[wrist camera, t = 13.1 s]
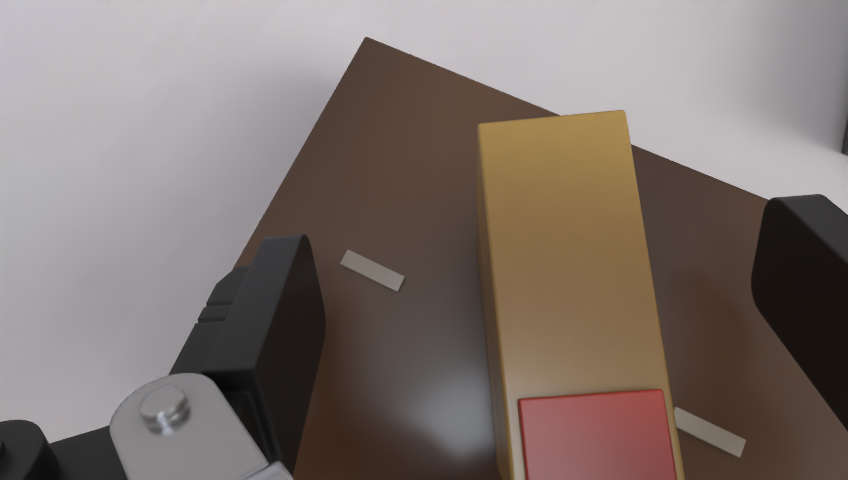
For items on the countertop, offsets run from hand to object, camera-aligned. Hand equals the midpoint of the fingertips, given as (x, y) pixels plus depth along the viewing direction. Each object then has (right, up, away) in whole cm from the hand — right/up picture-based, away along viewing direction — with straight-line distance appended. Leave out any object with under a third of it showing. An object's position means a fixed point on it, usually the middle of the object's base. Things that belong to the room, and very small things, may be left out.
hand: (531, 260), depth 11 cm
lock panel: (0, -3, +4) cm, 5 cm away
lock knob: (0, -2, +2) cm, 2 cm away
